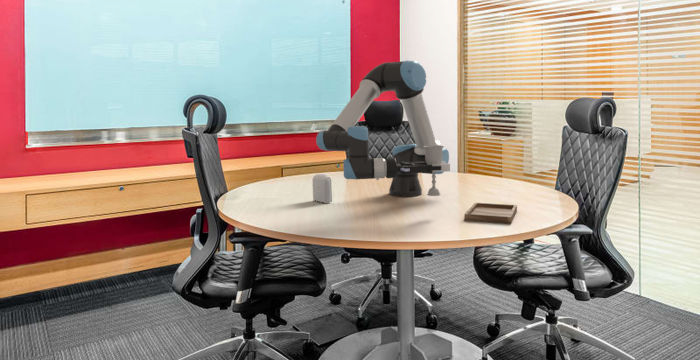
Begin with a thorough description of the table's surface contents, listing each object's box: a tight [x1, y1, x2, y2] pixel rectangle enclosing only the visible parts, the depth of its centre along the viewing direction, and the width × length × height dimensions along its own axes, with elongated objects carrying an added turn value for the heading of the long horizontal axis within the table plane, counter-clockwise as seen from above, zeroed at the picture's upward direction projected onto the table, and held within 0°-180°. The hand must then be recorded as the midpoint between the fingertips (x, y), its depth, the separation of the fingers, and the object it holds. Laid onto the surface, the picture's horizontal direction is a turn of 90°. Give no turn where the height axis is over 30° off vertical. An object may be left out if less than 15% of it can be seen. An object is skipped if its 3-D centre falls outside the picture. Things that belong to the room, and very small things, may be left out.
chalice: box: [424, 145, 445, 197], centre depth 187 cm, size 7×7×18 cm
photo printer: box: [311, 173, 333, 204], centre depth 221 cm, size 10×4×12 cm, turn 39°
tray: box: [463, 202, 518, 225], centre depth 189 cm, size 22×16×2 cm
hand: (447, 166), depth 187 cm, fingers closed on chalice, 6 cm apart
